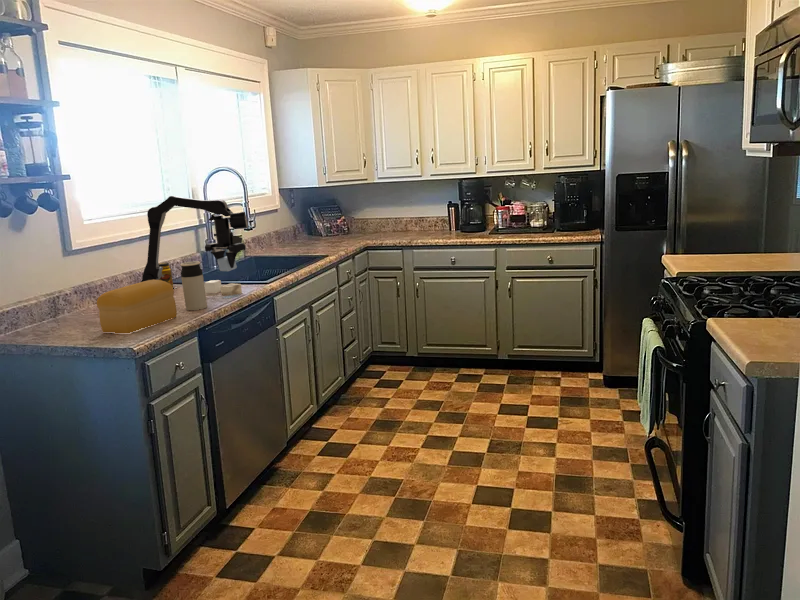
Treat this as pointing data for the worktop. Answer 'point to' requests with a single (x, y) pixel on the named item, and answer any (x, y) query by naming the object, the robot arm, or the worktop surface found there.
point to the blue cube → (225, 264)
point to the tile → (231, 296)
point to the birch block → (231, 289)
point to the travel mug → (193, 286)
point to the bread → (136, 306)
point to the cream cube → (212, 286)
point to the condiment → (166, 273)
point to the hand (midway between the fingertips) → (227, 267)
